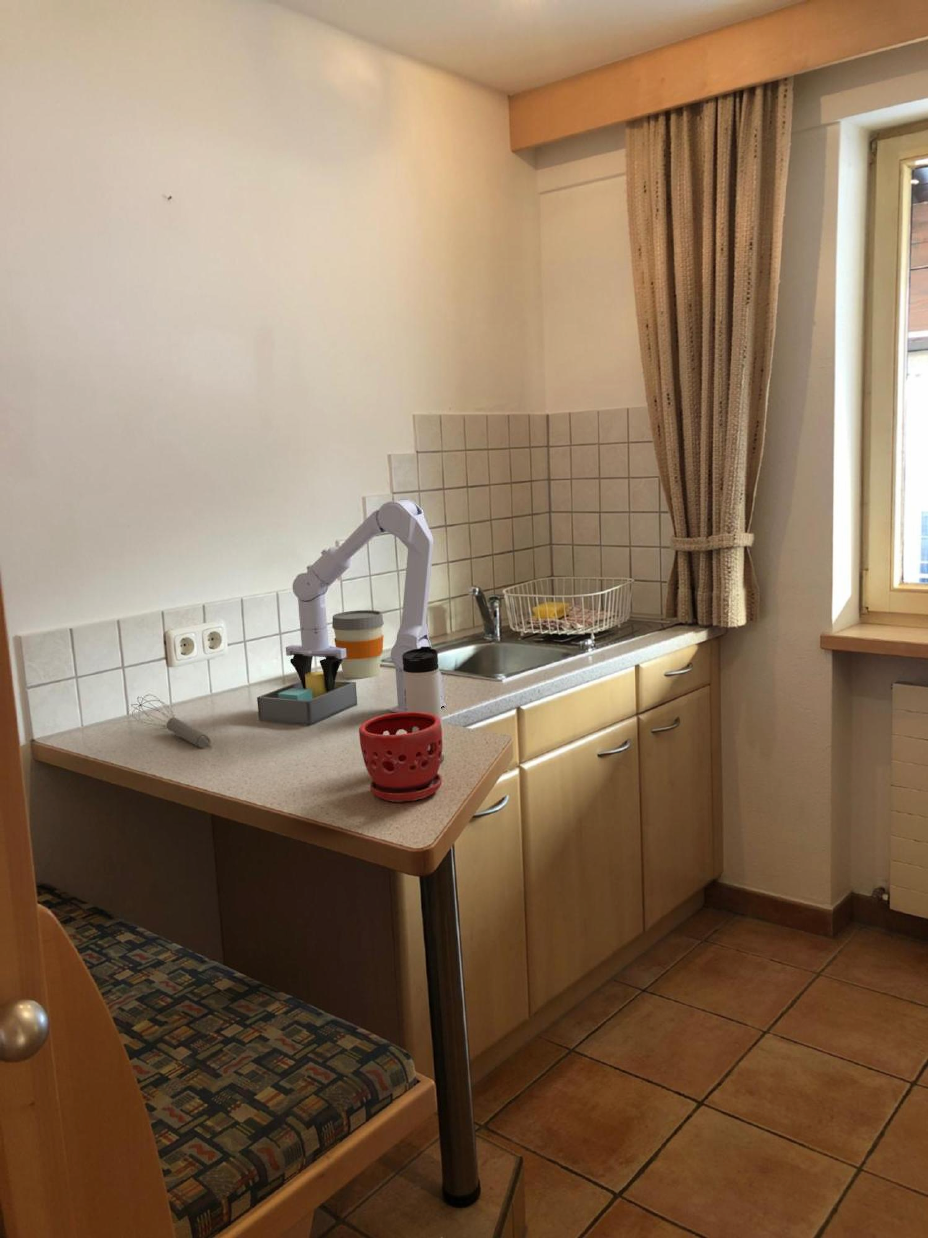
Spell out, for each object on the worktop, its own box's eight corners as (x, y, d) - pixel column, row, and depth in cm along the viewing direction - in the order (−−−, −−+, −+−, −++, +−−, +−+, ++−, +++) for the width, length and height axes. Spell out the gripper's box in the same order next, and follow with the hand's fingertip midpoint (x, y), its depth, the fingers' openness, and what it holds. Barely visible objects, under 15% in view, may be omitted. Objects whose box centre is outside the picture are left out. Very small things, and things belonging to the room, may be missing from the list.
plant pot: (381, 778, 172) (376, 709, 170) (455, 782, 169) (451, 711, 166) (351, 805, 160) (345, 732, 158) (430, 810, 156) (425, 734, 154)
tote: (308, 700, 228) (306, 678, 227) (357, 704, 222) (355, 682, 221) (259, 720, 213) (257, 697, 213) (310, 725, 207) (308, 701, 206)
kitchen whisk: (196, 755, 192) (192, 722, 191) (127, 724, 218) (124, 695, 217) (225, 748, 196) (222, 716, 195) (155, 718, 222) (152, 690, 221)
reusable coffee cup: (359, 666, 260) (355, 608, 258) (397, 671, 253) (393, 611, 250) (325, 677, 250) (320, 617, 248) (363, 682, 243) (359, 620, 240)
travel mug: (449, 755, 183) (443, 646, 179) (436, 767, 176) (430, 654, 173) (417, 754, 185) (410, 645, 181) (403, 765, 178) (396, 653, 175)
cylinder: (334, 703, 222) (332, 671, 221) (323, 709, 218) (320, 677, 216) (314, 701, 224) (312, 670, 223) (303, 707, 220) (300, 676, 218)
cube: (313, 712, 215) (311, 689, 214) (299, 718, 211) (297, 695, 210) (294, 710, 217) (292, 688, 217) (279, 716, 213) (277, 693, 212)
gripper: (275, 629, 218) (280, 691, 220) (330, 632, 211) (335, 696, 214) (295, 623, 224) (300, 683, 227) (349, 626, 218) (354, 688, 220)
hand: (318, 689), depth 221 cm, fingers open, 5 cm apart
